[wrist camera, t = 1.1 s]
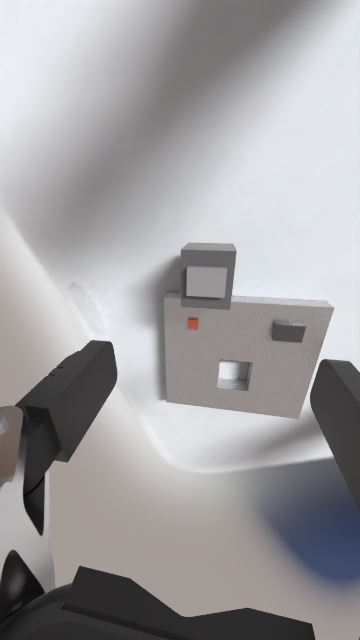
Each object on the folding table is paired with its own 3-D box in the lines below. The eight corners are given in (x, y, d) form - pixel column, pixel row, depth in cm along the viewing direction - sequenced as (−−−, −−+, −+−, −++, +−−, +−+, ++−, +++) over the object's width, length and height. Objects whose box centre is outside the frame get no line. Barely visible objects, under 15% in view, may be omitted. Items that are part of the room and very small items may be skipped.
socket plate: (167, 292, 27) (161, 299, 25) (325, 300, 25) (338, 310, 22) (169, 392, 34) (165, 406, 32) (293, 407, 31) (300, 424, 29)
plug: (191, 240, 24) (179, 250, 17) (232, 241, 24) (236, 252, 17) (190, 285, 26) (179, 309, 20) (227, 287, 26) (230, 312, 19)
